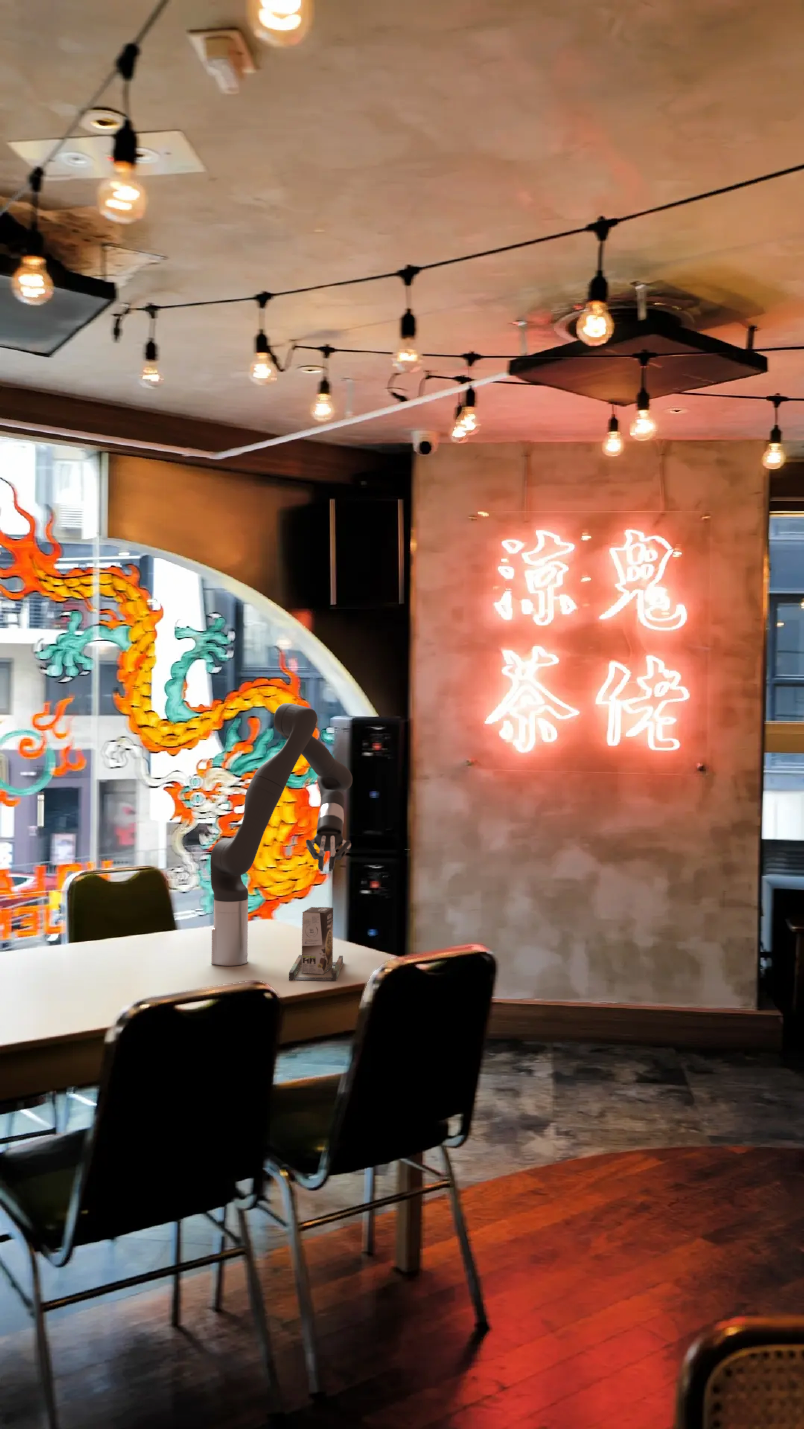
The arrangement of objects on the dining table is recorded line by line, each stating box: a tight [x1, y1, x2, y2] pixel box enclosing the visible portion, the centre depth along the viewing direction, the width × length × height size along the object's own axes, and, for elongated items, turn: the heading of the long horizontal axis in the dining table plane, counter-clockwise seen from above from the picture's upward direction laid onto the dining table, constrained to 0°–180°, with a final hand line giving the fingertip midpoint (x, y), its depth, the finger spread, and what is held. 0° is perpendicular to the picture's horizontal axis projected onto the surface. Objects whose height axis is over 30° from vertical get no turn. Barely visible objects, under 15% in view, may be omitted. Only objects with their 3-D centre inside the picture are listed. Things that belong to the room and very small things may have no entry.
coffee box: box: [301, 906, 334, 975], centre depth 299 cm, size 9×6×16 cm
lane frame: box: [288, 954, 344, 982], centre depth 298 cm, size 12×21×2 cm, turn 178°
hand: (325, 869), depth 319 cm, fingers closed
